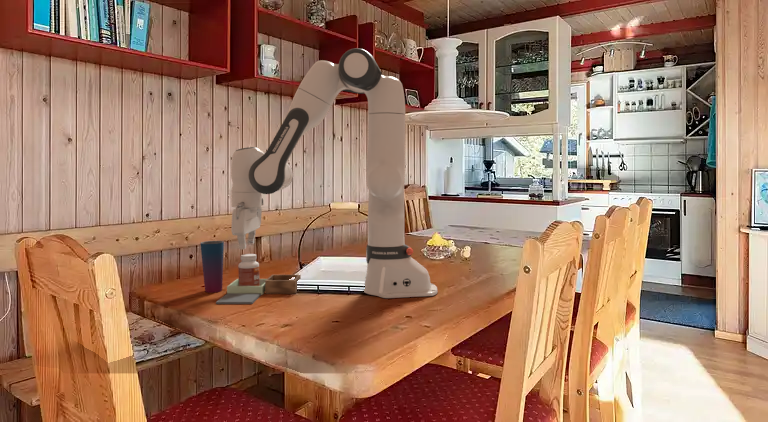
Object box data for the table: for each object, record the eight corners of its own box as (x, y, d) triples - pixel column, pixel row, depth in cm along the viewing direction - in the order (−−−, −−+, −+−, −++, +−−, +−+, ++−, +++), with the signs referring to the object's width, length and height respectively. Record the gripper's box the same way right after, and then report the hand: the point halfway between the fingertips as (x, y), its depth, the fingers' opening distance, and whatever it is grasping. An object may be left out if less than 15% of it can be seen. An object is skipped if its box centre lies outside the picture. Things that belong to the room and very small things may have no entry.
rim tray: (270, 286, 169) (270, 278, 169) (262, 294, 158) (262, 286, 158) (237, 286, 169) (237, 279, 169) (227, 294, 158) (226, 286, 158)
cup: (218, 293, 160) (216, 244, 158) (197, 292, 161) (195, 243, 160) (229, 288, 166) (227, 240, 165) (209, 287, 168) (207, 240, 167)
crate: (300, 287, 168) (300, 274, 168) (295, 294, 159) (295, 280, 159) (272, 287, 168) (271, 274, 168) (265, 294, 159) (265, 280, 159)
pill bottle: (258, 292, 161) (257, 256, 160) (237, 293, 160) (236, 256, 159) (261, 288, 167) (260, 253, 166) (241, 288, 166) (240, 253, 166)
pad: (260, 295, 158) (260, 293, 158) (252, 304, 148) (252, 301, 148) (227, 295, 158) (227, 293, 158) (216, 304, 148) (216, 301, 148)
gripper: (247, 203, 151) (248, 252, 152) (264, 199, 171) (265, 242, 172) (225, 203, 151) (226, 251, 152) (245, 199, 171) (245, 241, 173)
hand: (246, 246), depth 162 cm, fingers open, 8 cm apart
